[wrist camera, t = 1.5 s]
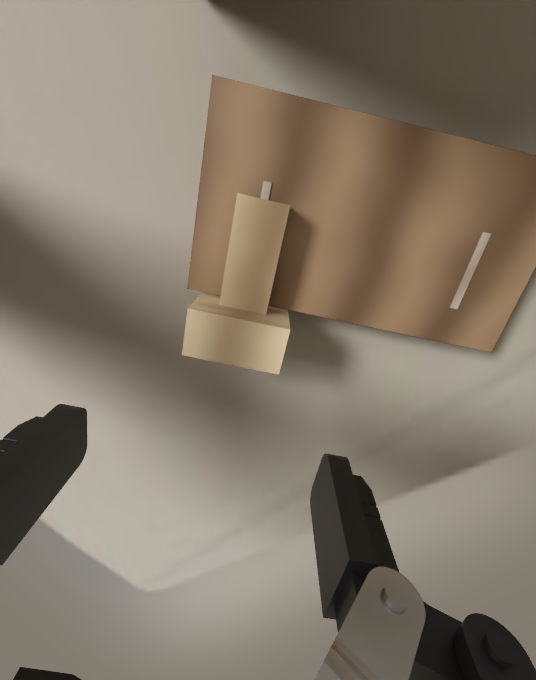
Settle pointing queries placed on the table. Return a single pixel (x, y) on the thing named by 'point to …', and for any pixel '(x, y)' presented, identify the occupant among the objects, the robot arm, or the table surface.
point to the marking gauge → (244, 295)
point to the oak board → (370, 215)
